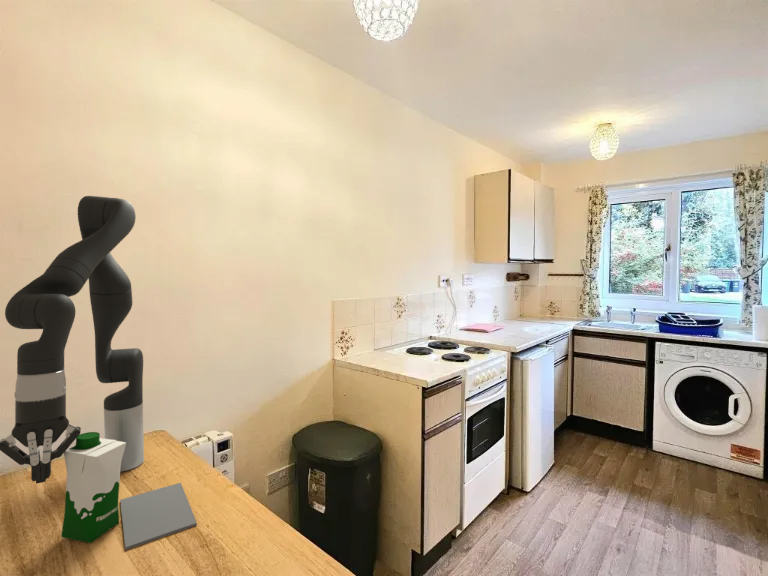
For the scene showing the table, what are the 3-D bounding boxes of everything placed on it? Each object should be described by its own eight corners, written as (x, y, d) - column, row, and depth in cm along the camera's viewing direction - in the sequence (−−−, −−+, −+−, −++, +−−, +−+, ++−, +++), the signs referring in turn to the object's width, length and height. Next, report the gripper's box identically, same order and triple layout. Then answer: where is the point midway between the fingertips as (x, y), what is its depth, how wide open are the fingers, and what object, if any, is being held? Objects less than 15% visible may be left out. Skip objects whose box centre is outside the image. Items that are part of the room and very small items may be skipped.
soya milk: (91, 514, 88) (96, 426, 88) (126, 521, 86) (132, 432, 86) (52, 539, 79) (58, 442, 79) (91, 547, 78) (97, 448, 77)
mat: (120, 502, 93) (120, 499, 93) (180, 484, 101) (180, 482, 101) (125, 550, 77) (125, 547, 77) (196, 525, 85) (196, 522, 85)
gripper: (84, 385, 84) (84, 465, 84) (-1, 395, 76) (-1, 482, 76) (82, 393, 78) (82, 479, 78) (-10, 404, 70) (-10, 500, 70)
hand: (41, 481), depth 77 cm, fingers closed
